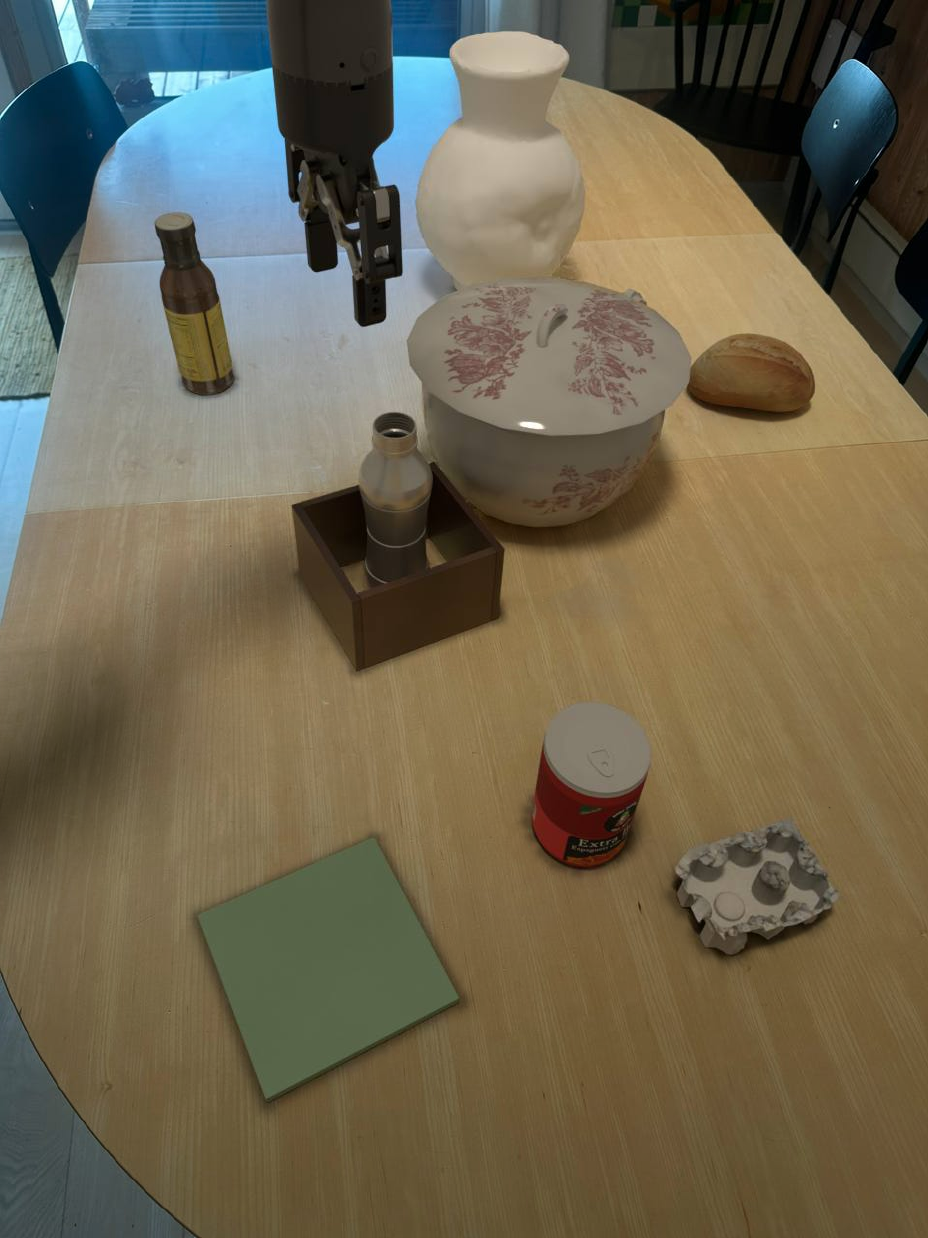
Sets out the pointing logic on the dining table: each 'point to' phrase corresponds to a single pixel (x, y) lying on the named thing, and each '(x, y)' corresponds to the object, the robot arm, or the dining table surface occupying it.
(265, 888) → the mat
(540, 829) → the canned food
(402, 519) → the plastic bottle
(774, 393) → the bread roll
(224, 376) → the sauce bottle
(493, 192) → the vase
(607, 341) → the chamber pot
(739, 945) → the egg carton
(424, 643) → the crate
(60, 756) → the dining table surface
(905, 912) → the dining table surface
